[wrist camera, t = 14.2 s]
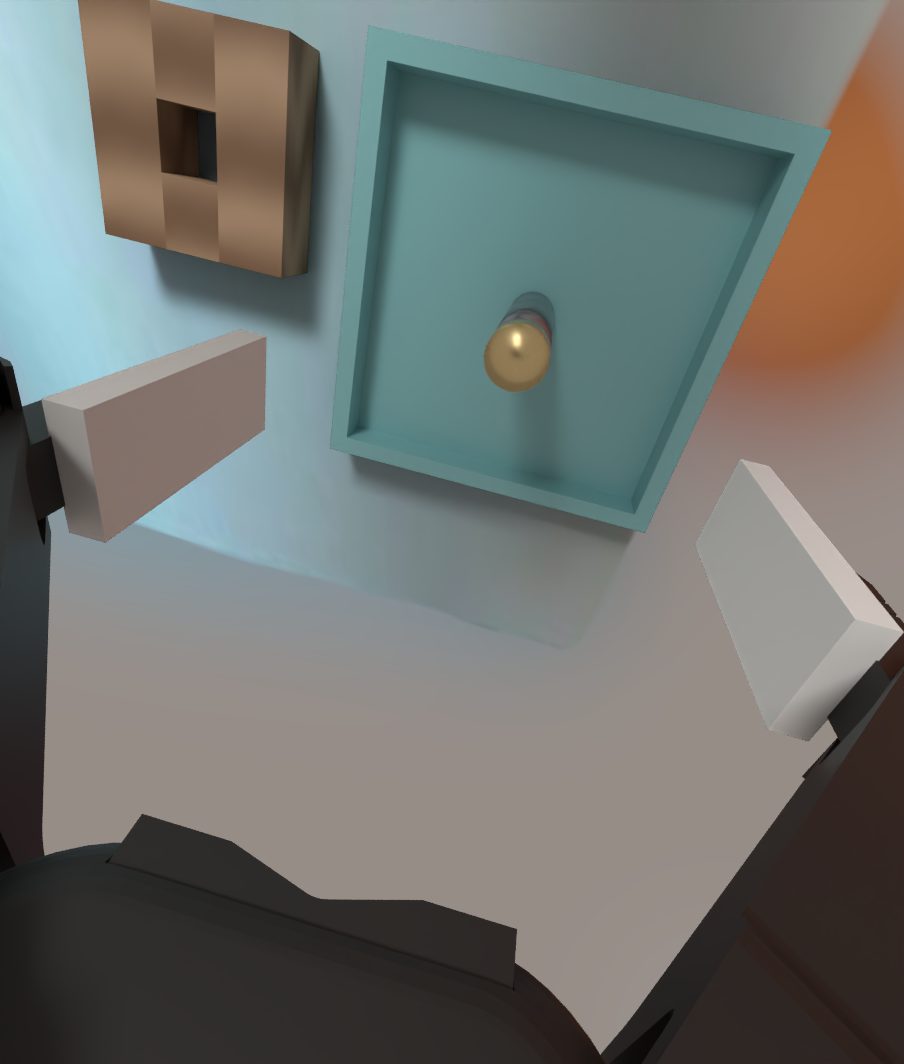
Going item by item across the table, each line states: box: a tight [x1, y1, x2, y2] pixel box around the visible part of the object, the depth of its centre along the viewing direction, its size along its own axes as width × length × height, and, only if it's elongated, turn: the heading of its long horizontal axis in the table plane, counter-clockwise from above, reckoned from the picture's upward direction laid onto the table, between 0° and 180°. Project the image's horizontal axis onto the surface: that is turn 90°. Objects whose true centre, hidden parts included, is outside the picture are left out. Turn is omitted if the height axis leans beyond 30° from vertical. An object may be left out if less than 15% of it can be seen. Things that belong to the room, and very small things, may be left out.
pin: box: [484, 292, 555, 392], centre depth 30 cm, size 3×3×13 cm
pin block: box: [78, 0, 319, 278], centre depth 33 cm, size 12×12×4 cm
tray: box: [330, 25, 832, 533], centre depth 35 cm, size 24×24×4 cm
